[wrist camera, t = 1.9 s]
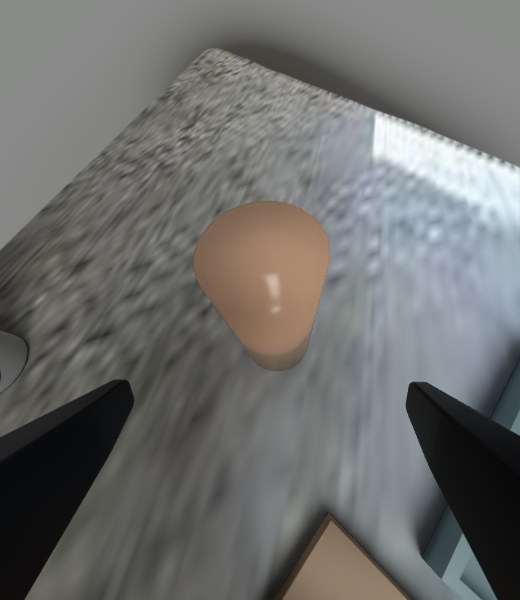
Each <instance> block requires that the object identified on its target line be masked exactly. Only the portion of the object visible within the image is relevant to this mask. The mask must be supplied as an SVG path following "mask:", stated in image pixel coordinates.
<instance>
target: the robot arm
mask: <svg viewBox="0 0 520 600" xmlns="http://www.w3.org/2000/svg"><path fill="white" fill-rule="evenodd" d="M133 405H134V396H133V393H132V390H131V387H130V384H129V382H128V381H127V380H122V379H117V380H113V381H111V382H109V383H107V384H105V385H103V386H101V387H99V388H97V389H95V390H93V391H91V392H89V393H87V394H85V395H83V396H81V397H79V398H77V399H75V400H73V401H71V402H69V403H67V404H65V405H63V406H61V407H59V408H57V409H55V410H53V411H51V412H50V413H48V414H46V415H44V416H42V417H40V418H38V419H36V420H34V421H32V422H30V423H28V424H26V425H24V426H22V427H20V428H18V429H16V430H14V431H12V432H10V433H8V434H6V435H4V436H2V437H0V600H25V598H26V596H27V594H28V593H29V591H30V589H31V588H32V586H33V584H34V583H35V581H36V579H37V577H38V576H39V574H40V572H41V571H42V569H43V567H44V566H45V564H46V562H47V560H48V559H49V557H50V555H51V554H52V552H53V550H54V549H55V547H56V545H57V543H58V542H59V540H60V538H61V537H62V535H63V533H64V531H65V530H66V528H67V526H68V525H69V523H70V521H71V520H72V518H73V516H74V514H75V513H76V511H77V509H78V508H79V506H80V504H81V503H82V501H83V499H84V497H85V496H86V494H87V492H88V491H89V489H90V487H91V486H92V484H93V482H94V480H95V479H96V477H97V475H98V474H99V472H100V470H101V469H102V467H103V465H104V463H105V462H106V460H107V458H108V456H109V455H110V453H111V451H112V449H113V447H114V445H115V443H116V441H117V439H118V437H119V435H120V433H121V431H122V428H123V426H124V424H125V422H126V420H127V418H128V416H129V414H130V412H131V410H132V408H133ZM406 410H407V413H408V416H409V418H410V421H411V423H412V426H413V428H414V431H415V433H416V436H417V438H418V441H419V443H420V446H421V448H422V451H423V453H424V456H425V458H426V461H427V463H428V465H429V468H430V470H431V472H432V474H433V476H434V478H435V480H436V482H437V484H438V486H439V487H440V489H441V491H442V493H443V495H444V497H445V499H446V501H447V503H448V505H449V507H450V509H451V511H452V513H453V515H454V517H455V519H456V521H457V523H458V524H459V526H460V528H461V530H462V532H463V534H464V536H465V538H466V540H467V542H468V544H469V546H470V548H471V550H472V552H473V554H474V556H475V558H476V559H477V561H478V563H479V565H480V567H481V569H482V571H483V573H484V575H485V577H486V579H487V581H488V583H489V585H490V587H491V589H492V591H493V593H494V594H495V596H496V598H497V600H520V435H518V434H516V433H514V432H513V431H511V430H509V429H507V428H506V427H504V426H502V425H500V424H499V423H497V422H495V421H493V420H492V419H490V418H488V417H486V416H485V415H483V414H481V413H479V412H478V411H476V410H474V409H472V408H471V407H469V406H467V405H466V404H464V403H462V402H460V401H459V400H457V399H455V398H453V397H452V396H450V395H448V394H446V393H445V392H443V391H441V390H439V389H438V388H436V387H434V386H432V385H431V384H429V383H427V382H411V383H410V384H409V388H408V393H407V399H406Z"/></svg>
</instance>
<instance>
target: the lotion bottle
mask: <svg viewBox="0 0 520 600" xmlns="http://www.w3.org/2000/svg"><path fill="white" fill-rule="evenodd" d="M26 359H27V346H26V344H25V342H24V341H23V340H22V339H21V338H19V337H18V336H15V335H12V334H9V333H6V332H3V331H0V392H1V391H3V390H4V389H6V388H7V387H8V386H9V385H11V384H12V383H13V382H14V381H15V379H16V378H17V377H18V376H19V374H20V373H21V371H22V369H23V367H24V365H25V363H26Z"/></svg>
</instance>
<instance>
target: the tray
mask: <svg viewBox="0 0 520 600" xmlns="http://www.w3.org/2000/svg"><path fill="white" fill-rule="evenodd" d="M490 419H492V420H493V421H495V422H497V423H499V424H500V425H502V426H504V427H506V428H507V429H509V430H511V431H513V432H514V433H516V434H518V435H520V359H519V361H518V363H517V365H516V367H515V369H514V371H513V373H512V375H511V377H510V379H509V381H508V383H507V385H506V387H505V389H504V391H503V393H502V395H501V397H500V399H499V401H498V403H497V405H496V407H495V409H494V411H493V413H492V416H491V418H490ZM422 558H423V560H424V561H425V562H426V563H427V564H428V565H429V566H430V567H431V568H432V569H433V571H434V572H435V573H436V574H437V575H438V576H439V577H440V578H441V579H442V580H443V581H444V582H445V583H446V584H447V585H448V586H449V587H450V588H451V589H452V590H453V591H454V592H455V593H456V594H457V595H458V596H459V597H460V598H461V599H462V600H497V598H496V596H495V594H494V593H493V591H492V589H491V587H490V585H489V583H488V581H487V579H486V577H485V575H484V573H483V571H482V569H481V567H480V565H479V563H478V561H477V559H476V558H475V556H474V554H473V552H472V550H471V548H470V546H469V544H468V542H467V540H466V538H465V536H464V534H463V532H462V530H461V528H460V526H459V524H458V523H457V521H456V519H455V517H454V515H453V513H452V511H451V509H450V507H449V505H447V507H446V509H445V511H444V513H443V515H442V517H441V519H440V521H439V523H438V525H437V527H436V529H435V531H434V533H433V535H432V537H431V539H430V541H429V543H428V545H427V547H426V549H425V551H424V553H423V555H422Z"/></svg>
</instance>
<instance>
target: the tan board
mask: <svg viewBox="0 0 520 600" xmlns="http://www.w3.org/2000/svg"><path fill="white" fill-rule="evenodd" d="M274 600H412V599H411V598H410V597H409V596H408V595H407V594H406V593H405V591H404V590H403V589H402V588H401V587H400V586H399V585H398V584H397V583H396V582H395V581H394V580H393V579H392V578H391V577H390V576H389V575H388V574H387V573H386V572H385V571H384V570H383V569H382V568H381V567H380V566H379V565H378V564H377V562H376V561H375V560H374V559H373V558H372V557H371V556H370V555H369V554H368V553H367V552H366V551H365V550H364V549H363V548H362V547H361V546H360V545H359V544H358V543H357V542H356V541H355V540H354V539H353V538H352V537H351V536H350V535H349V533H348V532H347V531H346V530H345V529H344V528H343V527H342V526H341V525H340V524H339V523H338V522H337V521H336V520H335V519H334V518H333V517H332V516H331V515H330V514H329V513H328V514H327V515H326V517H325V518H324V520H323V522H322V523H321V525H320V526H319V528H318V530H317V531H316V533H315V534H314V536H313V538H312V539H311V541H310V542H309V544H308V546H307V547H306V549H305V551H304V552H303V554H302V555H301V557H300V559H299V560H298V562H297V563H296V565H295V567H294V568H293V570H292V571H291V573H290V575H289V576H288V578H287V579H286V581H285V583H284V584H283V586H282V587H281V589H280V591H279V592H278V594H277V595H276V597H275V599H274Z"/></svg>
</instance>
